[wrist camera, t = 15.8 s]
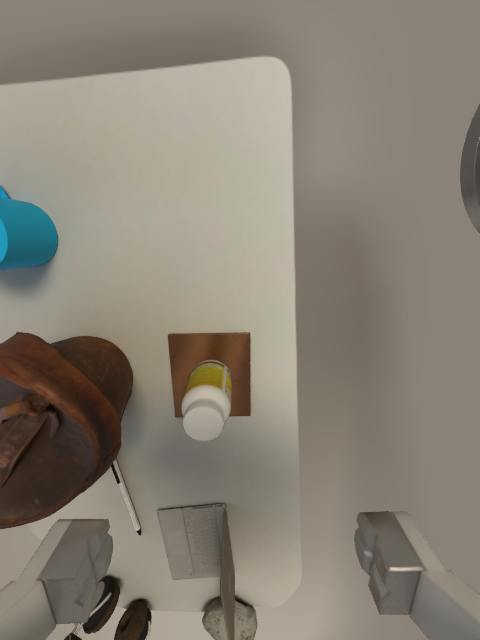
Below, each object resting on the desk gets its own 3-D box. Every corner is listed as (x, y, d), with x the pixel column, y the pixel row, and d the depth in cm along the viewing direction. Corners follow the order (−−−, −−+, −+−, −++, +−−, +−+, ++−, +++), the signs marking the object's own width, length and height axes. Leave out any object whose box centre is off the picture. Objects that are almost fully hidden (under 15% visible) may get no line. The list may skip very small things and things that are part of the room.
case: (145, 308, 39) (71, 362, 21) (158, 426, 44) (107, 544, 27) (19, 309, 38) (-157, 364, 21) (48, 427, 44) (-73, 547, 27)
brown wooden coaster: (250, 332, 40) (250, 333, 39) (250, 413, 44) (250, 416, 43) (168, 333, 40) (167, 335, 39) (176, 415, 44) (175, 417, 43)
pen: (114, 450, 45) (110, 455, 44) (143, 532, 51) (141, 538, 50) (108, 451, 45) (105, 456, 44) (139, 533, 51) (136, 539, 50)
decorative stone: (197, 618, 58) (193, 652, 53) (211, 586, 55) (209, 619, 50) (251, 629, 59) (252, 663, 55) (267, 597, 56) (270, 630, 52)
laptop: (157, 507, 49) (131, 598, 37) (226, 502, 49) (222, 591, 36) (173, 575, 54) (154, 675, 42) (235, 570, 54) (235, 670, 42)
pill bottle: (182, 376, 41) (164, 424, 30) (211, 350, 40) (202, 390, 29) (211, 402, 42) (203, 456, 32) (240, 377, 41) (241, 424, 31)
